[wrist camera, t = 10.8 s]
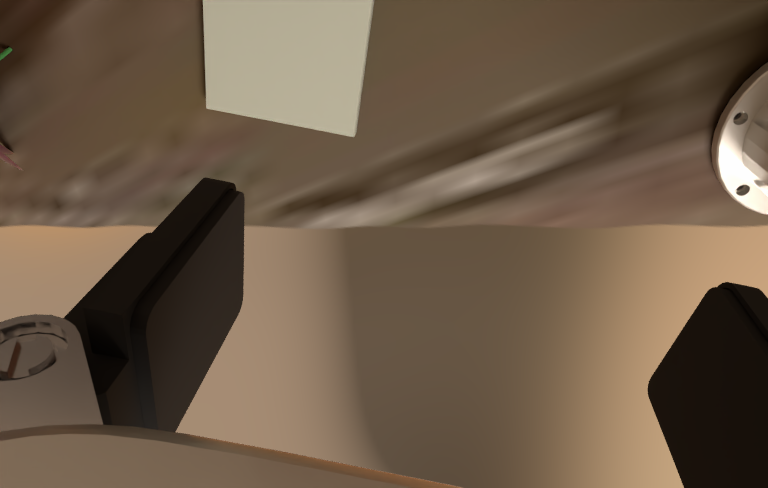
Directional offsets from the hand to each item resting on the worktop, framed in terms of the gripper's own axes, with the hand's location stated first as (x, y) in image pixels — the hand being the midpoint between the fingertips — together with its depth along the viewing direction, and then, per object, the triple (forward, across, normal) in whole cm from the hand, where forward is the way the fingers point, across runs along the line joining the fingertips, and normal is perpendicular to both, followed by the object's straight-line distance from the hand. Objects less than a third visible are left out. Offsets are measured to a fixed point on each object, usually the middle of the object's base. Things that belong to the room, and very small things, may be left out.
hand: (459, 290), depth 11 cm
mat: (+28, +11, +3) cm, 30 cm away
